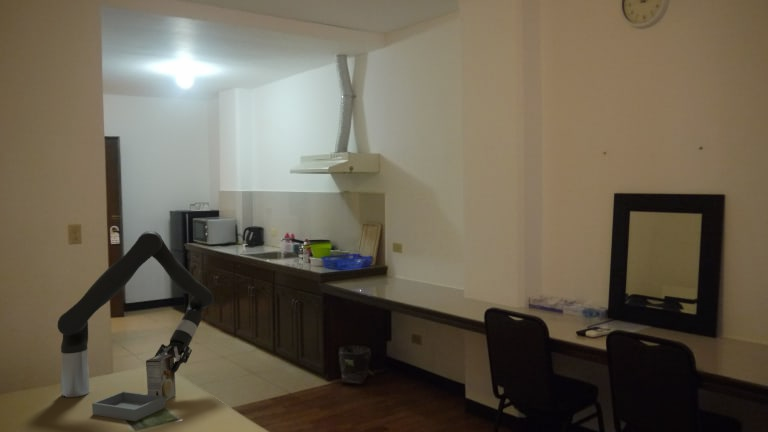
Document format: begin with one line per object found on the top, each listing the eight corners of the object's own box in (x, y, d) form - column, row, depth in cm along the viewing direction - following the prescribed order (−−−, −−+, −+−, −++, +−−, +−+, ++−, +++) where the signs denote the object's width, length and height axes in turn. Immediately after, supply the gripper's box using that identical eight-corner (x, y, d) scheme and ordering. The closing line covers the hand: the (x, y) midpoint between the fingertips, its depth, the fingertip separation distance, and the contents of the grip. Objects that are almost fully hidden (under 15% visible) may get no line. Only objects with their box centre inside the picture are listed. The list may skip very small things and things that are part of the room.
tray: (92, 414, 216) (92, 403, 216) (123, 401, 229) (123, 391, 229) (135, 421, 208) (134, 409, 208) (164, 407, 221) (164, 396, 221)
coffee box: (161, 394, 235) (159, 353, 235) (176, 395, 234) (174, 354, 234) (147, 403, 226) (145, 360, 226) (162, 403, 225) (161, 360, 225)
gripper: (164, 327, 242) (144, 364, 232) (193, 329, 236) (173, 367, 226) (174, 338, 247) (155, 373, 237) (203, 340, 242) (184, 377, 231)
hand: (164, 370), depth 232 cm, fingers open, 8 cm apart
